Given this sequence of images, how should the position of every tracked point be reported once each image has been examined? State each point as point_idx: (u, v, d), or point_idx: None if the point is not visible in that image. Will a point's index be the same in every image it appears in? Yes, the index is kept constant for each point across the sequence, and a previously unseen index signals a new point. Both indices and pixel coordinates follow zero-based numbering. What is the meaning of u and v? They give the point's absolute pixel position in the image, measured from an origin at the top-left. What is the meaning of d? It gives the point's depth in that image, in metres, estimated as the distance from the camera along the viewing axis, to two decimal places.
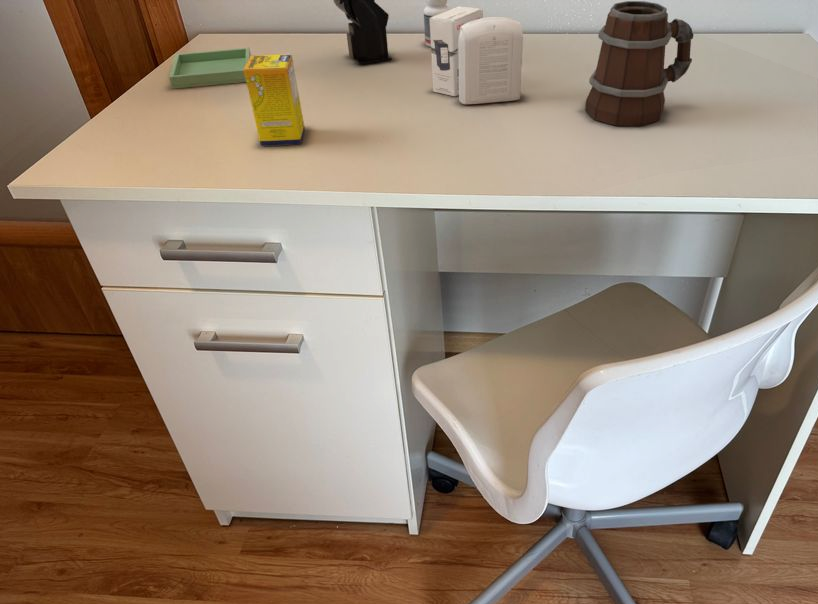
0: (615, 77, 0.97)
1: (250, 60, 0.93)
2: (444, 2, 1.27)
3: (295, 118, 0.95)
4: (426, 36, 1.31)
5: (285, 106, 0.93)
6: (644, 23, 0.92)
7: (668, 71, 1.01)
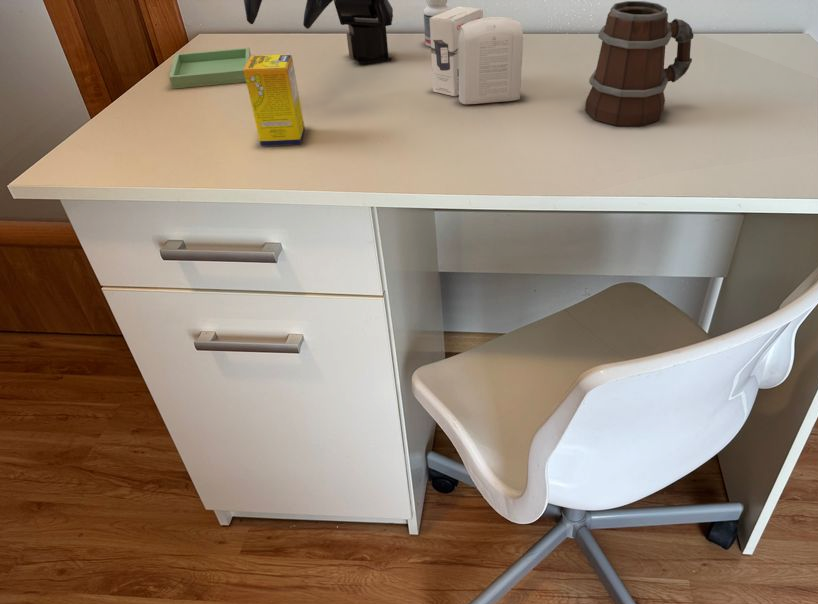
0: (615, 77, 0.97)
1: (250, 60, 0.93)
2: (444, 2, 1.27)
3: (295, 118, 0.95)
4: (426, 36, 1.31)
5: (285, 106, 0.93)
6: (644, 23, 0.92)
7: (668, 71, 1.01)
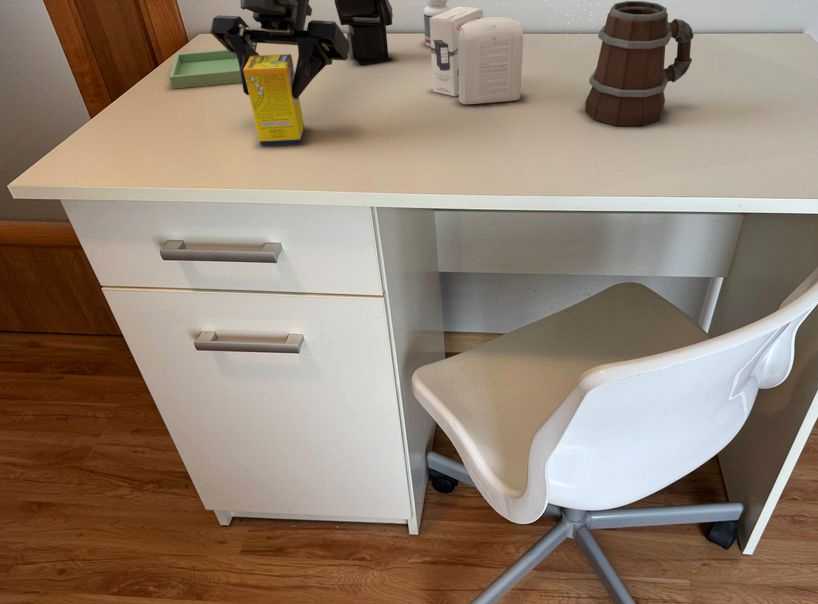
0: (615, 77, 0.97)
1: (250, 60, 0.93)
2: (444, 2, 1.27)
3: (295, 118, 0.95)
4: (426, 36, 1.31)
5: (285, 106, 0.93)
6: (644, 23, 0.92)
7: (668, 71, 1.01)
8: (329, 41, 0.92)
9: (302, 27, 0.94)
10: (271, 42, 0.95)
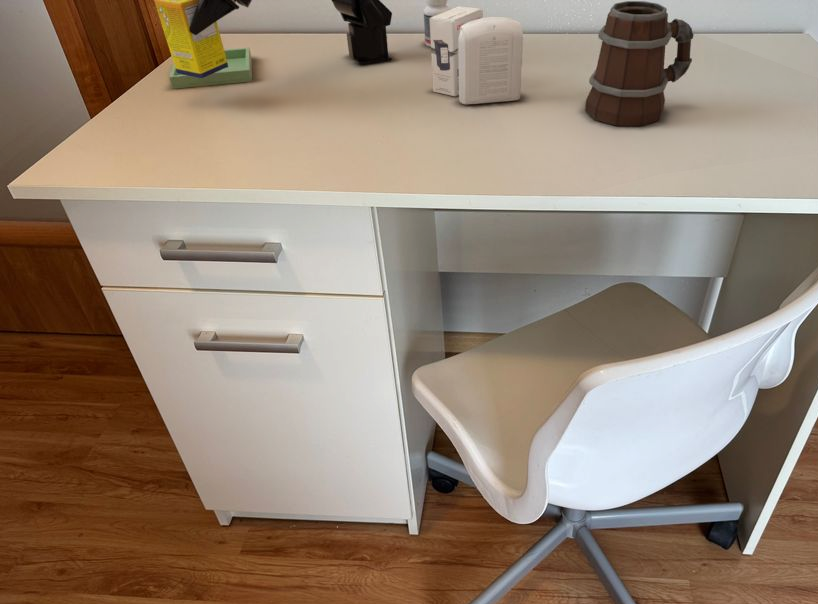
0: (615, 77, 0.97)
1: None
2: (444, 2, 1.27)
3: (194, 53, 1.02)
4: (426, 36, 1.31)
5: (185, 40, 1.01)
6: (644, 23, 0.92)
7: (668, 71, 1.01)
8: None
9: None
10: None
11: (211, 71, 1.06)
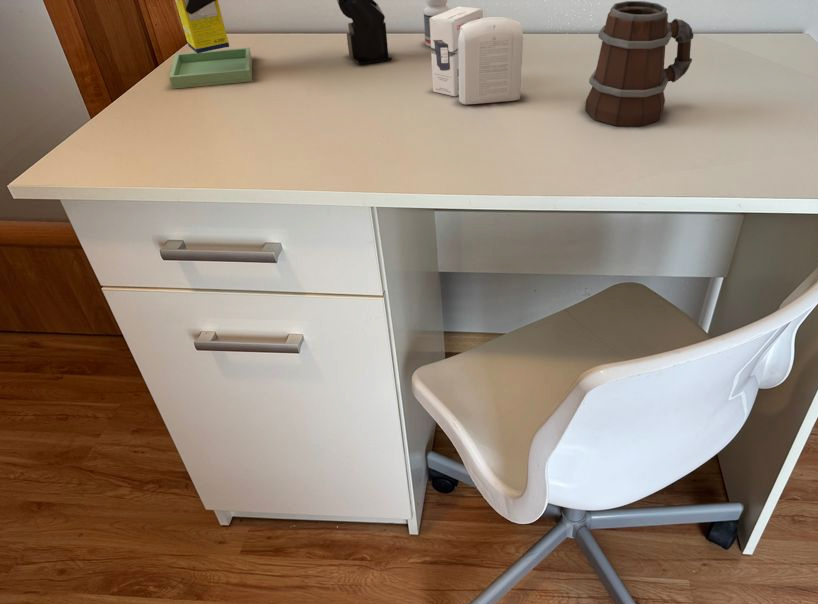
0: (615, 77, 0.97)
1: None
2: (444, 2, 1.27)
3: (190, 30, 1.14)
4: (426, 36, 1.31)
5: (184, 17, 1.13)
6: (644, 23, 0.92)
7: (668, 71, 1.01)
8: None
9: None
10: None
11: (208, 48, 1.17)
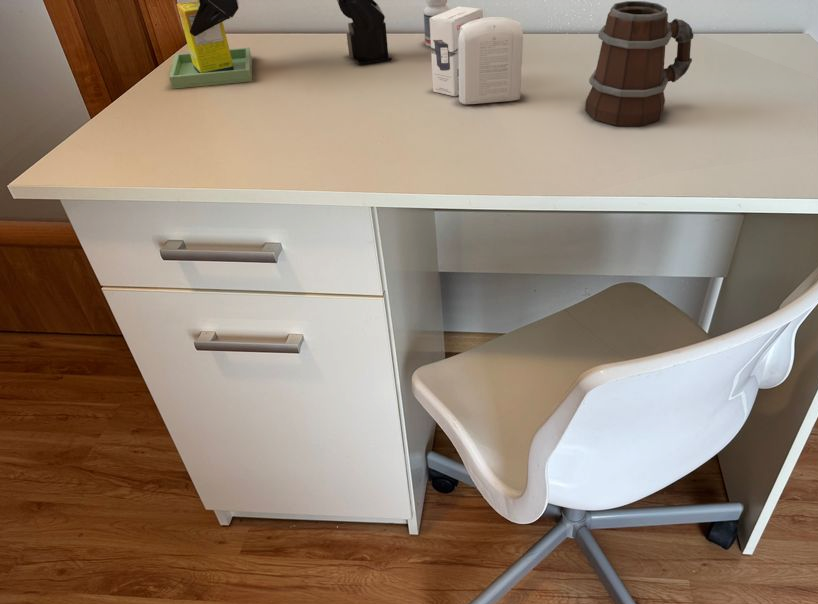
0: (615, 77, 0.97)
1: (198, 1, 1.17)
2: (444, 2, 1.27)
3: (196, 54, 1.16)
4: (426, 36, 1.31)
5: (191, 42, 1.16)
6: (644, 23, 0.92)
7: (668, 71, 1.01)
8: None
9: None
10: None
11: None
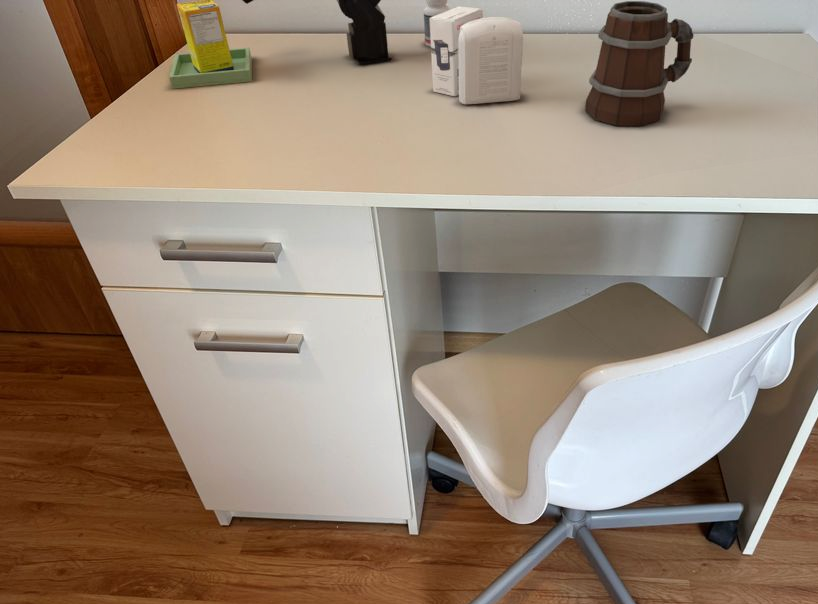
0: (615, 77, 0.97)
1: (198, 1, 1.17)
2: (444, 2, 1.27)
3: (196, 54, 1.16)
4: (426, 36, 1.31)
5: (191, 42, 1.16)
6: (644, 23, 0.92)
7: (668, 71, 1.01)
8: None
9: None
10: None
11: None
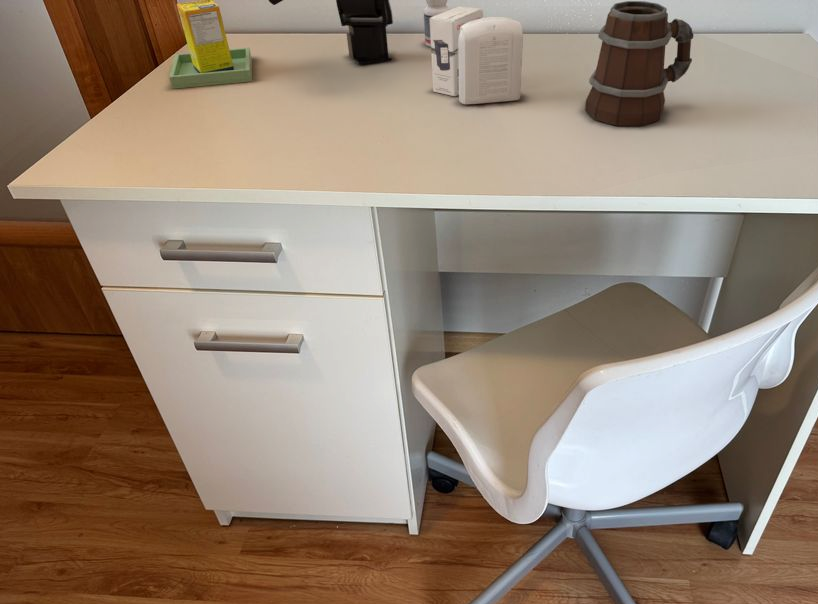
0: (615, 77, 0.97)
1: (198, 1, 1.17)
2: (444, 2, 1.27)
3: (196, 54, 1.16)
4: (426, 36, 1.31)
5: (191, 42, 1.16)
6: (644, 23, 0.92)
7: (668, 71, 1.01)
8: None
9: None
10: None
11: None
